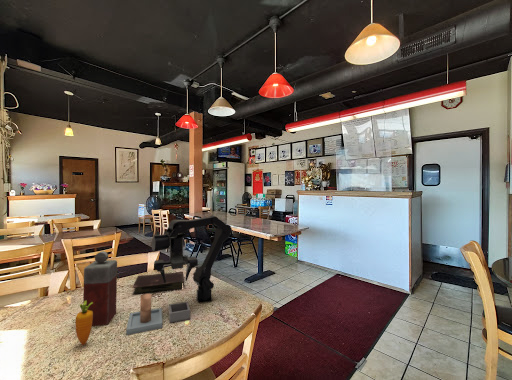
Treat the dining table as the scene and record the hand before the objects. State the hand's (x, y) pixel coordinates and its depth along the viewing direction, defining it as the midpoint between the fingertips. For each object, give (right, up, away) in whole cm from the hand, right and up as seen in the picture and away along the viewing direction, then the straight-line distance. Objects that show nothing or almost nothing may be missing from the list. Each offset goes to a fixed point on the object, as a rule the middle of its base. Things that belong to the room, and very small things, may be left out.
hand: (175, 281), depth 106 cm
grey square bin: (+4, -12, -7) cm, 14 cm away
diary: (-17, -12, +24) cm, 32 cm away
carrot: (-23, -12, -26) cm, 37 cm away
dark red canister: (-28, -12, -9) cm, 32 cm away
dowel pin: (-8, -11, -12) cm, 18 cm away
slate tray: (-8, -12, -12) cm, 19 cm away
